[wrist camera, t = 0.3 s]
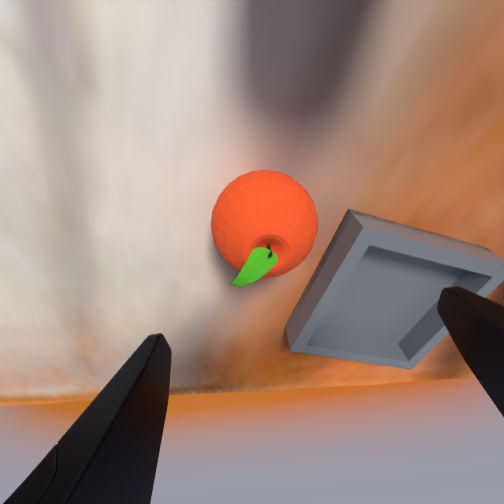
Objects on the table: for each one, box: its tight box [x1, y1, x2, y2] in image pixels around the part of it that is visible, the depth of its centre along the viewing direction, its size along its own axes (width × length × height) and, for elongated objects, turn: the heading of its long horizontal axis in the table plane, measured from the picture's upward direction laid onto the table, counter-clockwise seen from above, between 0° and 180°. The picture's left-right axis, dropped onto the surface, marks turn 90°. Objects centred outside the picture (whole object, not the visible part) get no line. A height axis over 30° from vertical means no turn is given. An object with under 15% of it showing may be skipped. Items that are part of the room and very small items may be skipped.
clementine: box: [211, 170, 318, 287], centre depth 18 cm, size 8×7×7 cm
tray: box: [285, 209, 504, 370], centre depth 25 cm, size 14×14×3 cm
